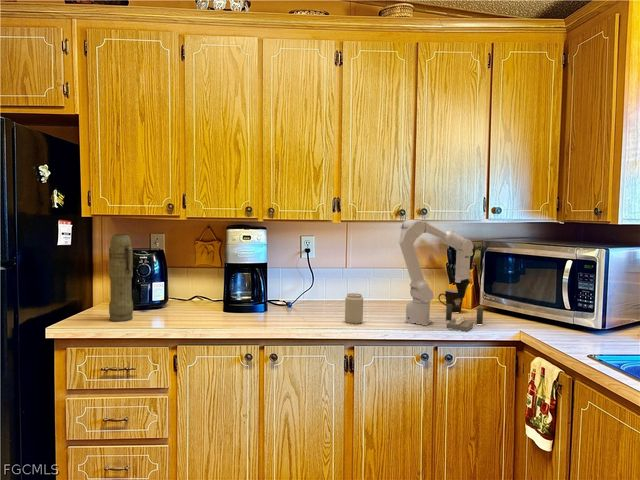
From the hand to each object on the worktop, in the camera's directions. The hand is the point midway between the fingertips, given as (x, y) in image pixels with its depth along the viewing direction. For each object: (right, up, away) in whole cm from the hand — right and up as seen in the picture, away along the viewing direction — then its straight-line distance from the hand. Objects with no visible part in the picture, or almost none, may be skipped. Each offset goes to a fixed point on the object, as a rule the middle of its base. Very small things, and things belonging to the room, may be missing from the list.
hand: (461, 297), depth 191 cm
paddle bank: (-4, -9, -11) cm, 15 cm away
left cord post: (-5, -10, +1) cm, 12 cm away
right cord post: (+6, -11, -6) cm, 14 cm away
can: (-47, -10, -6) cm, 49 cm away
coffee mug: (+1, -9, +19) cm, 21 cm away
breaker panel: (-4, -11, -11) cm, 16 cm away
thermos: (-143, -8, -10) cm, 144 cm away
